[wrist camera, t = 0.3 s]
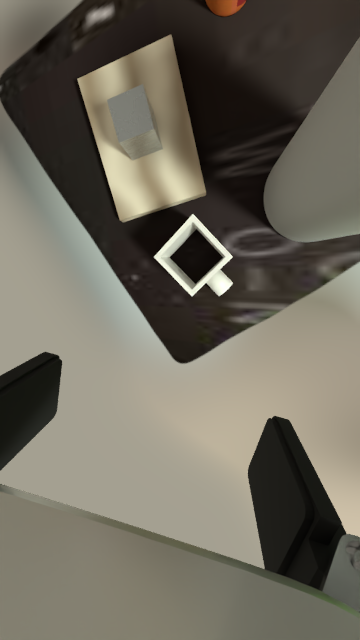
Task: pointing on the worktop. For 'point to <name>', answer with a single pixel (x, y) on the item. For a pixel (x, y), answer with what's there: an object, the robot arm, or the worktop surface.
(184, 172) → the board
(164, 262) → the duct collar
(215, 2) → the paper cup
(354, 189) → the cylinder vase
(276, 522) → the robot arm
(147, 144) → the block
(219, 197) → the worktop surface
